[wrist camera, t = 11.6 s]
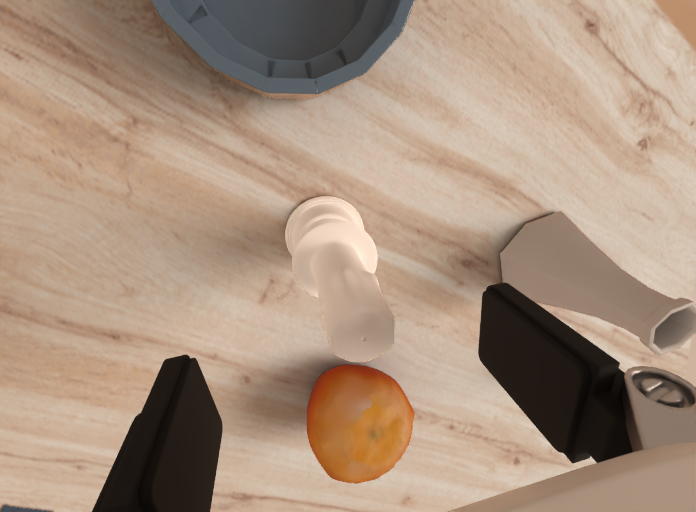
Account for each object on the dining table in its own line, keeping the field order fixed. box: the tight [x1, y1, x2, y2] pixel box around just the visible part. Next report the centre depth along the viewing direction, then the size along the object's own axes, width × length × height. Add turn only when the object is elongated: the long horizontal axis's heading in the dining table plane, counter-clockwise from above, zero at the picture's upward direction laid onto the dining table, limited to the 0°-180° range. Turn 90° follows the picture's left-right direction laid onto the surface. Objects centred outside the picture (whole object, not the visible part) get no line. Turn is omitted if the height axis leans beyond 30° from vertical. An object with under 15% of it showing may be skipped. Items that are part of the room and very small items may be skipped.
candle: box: [285, 196, 394, 363], centre depth 16 cm, size 5×5×12 cm
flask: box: [500, 211, 696, 356], centre depth 21 cm, size 7×7×10 cm
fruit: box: [307, 365, 414, 484], centre depth 25 cm, size 8×8×8 cm
